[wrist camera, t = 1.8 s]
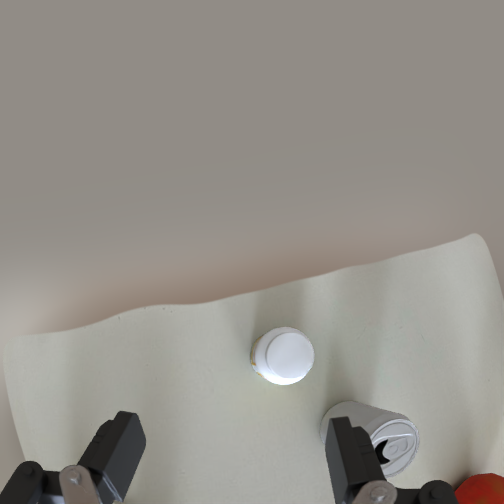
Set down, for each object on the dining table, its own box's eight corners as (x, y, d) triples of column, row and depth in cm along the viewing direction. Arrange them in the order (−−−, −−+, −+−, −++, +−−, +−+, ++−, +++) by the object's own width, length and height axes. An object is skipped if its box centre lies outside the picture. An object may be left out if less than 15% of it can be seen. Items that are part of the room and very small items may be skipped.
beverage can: (313, 408, 31) (354, 430, 20) (364, 393, 32) (420, 404, 20) (321, 455, 29) (362, 493, 18) (370, 439, 30) (425, 464, 18)
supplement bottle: (305, 364, 33) (334, 366, 24) (264, 388, 31) (278, 400, 22) (283, 323, 34) (303, 311, 25) (241, 346, 33) (246, 343, 24)
